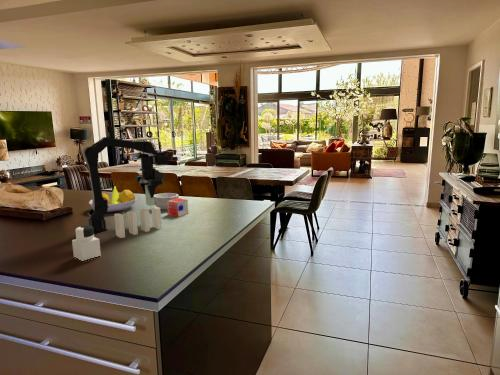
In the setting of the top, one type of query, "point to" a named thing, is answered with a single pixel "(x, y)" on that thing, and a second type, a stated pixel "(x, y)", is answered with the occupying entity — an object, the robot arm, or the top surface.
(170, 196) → the paper bowls
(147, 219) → the tile
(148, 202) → the tile
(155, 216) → the tile
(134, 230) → the tile
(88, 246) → the white block with post
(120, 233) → the tile
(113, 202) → the fruit bowl
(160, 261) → the top surface
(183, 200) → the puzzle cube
